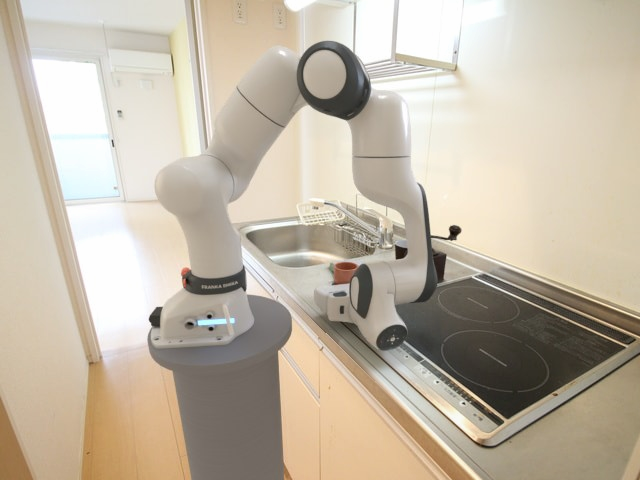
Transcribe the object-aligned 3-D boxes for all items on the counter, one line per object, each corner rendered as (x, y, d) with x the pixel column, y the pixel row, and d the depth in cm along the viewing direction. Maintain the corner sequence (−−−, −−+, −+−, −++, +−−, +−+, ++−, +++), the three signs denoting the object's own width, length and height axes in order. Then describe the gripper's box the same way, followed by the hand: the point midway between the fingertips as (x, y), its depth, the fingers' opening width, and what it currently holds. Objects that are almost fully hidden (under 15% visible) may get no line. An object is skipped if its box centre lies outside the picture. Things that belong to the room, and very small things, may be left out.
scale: (339, 280, 115) (340, 273, 114) (329, 268, 124) (329, 261, 123) (371, 276, 118) (372, 269, 117) (359, 265, 128) (359, 258, 127)
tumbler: (337, 310, 96) (338, 271, 92) (330, 299, 102) (330, 262, 98) (360, 306, 98) (362, 269, 94) (352, 296, 104) (353, 260, 100)
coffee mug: (404, 278, 117) (407, 249, 113) (387, 270, 123) (389, 242, 120) (430, 271, 123) (433, 244, 120) (412, 264, 130) (414, 237, 126)
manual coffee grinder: (420, 288, 111) (426, 231, 105) (398, 275, 120) (403, 222, 114) (457, 279, 118) (465, 226, 112) (434, 268, 127) (440, 218, 121)
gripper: (403, 287, 89) (380, 267, 101) (323, 297, 82) (308, 275, 94) (401, 310, 91) (378, 288, 103) (322, 322, 84) (308, 296, 96)
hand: (344, 281), depth 99 cm, fingers closed on tumbler, 6 cm apart
